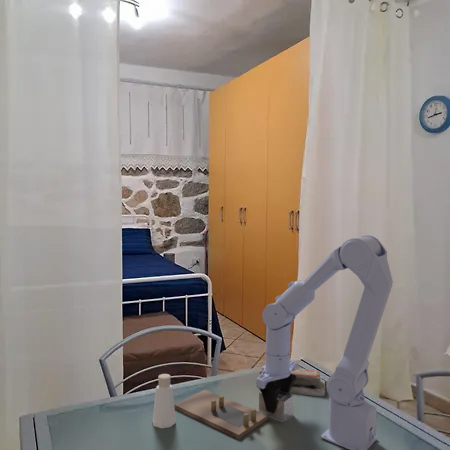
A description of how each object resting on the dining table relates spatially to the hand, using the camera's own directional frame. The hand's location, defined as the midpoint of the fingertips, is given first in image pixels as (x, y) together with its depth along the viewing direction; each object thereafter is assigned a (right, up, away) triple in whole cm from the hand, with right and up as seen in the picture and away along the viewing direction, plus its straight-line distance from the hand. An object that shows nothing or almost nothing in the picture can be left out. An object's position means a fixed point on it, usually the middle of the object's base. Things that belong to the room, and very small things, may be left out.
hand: (276, 407), depth 105 cm
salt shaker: (-26, -2, -5) cm, 27 cm away
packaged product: (+6, -1, +16) cm, 18 cm away
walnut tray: (-13, -1, 0) cm, 14 cm away
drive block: (0, -2, 0) cm, 2 cm away
